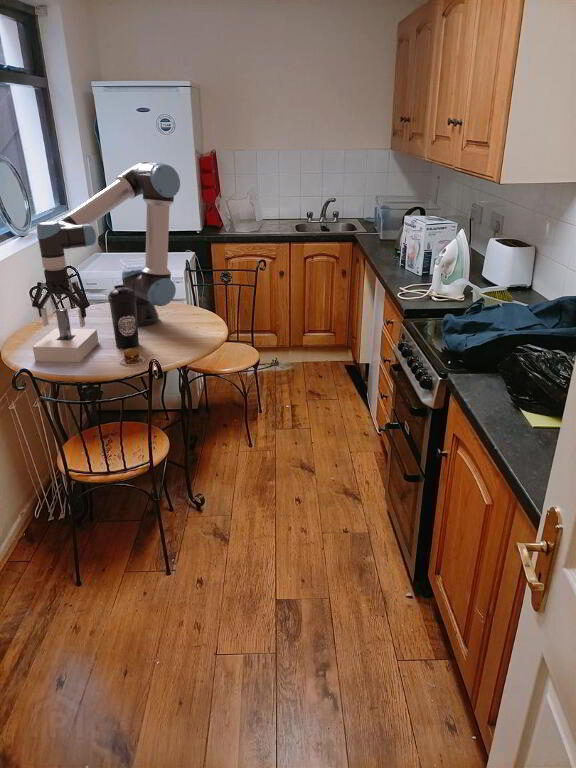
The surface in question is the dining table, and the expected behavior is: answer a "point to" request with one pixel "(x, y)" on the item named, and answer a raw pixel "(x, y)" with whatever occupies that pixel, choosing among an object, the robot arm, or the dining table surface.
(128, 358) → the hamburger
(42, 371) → the dining table surface
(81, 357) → the socket block
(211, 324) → the dining table surface
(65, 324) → the steel pin
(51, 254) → the robot arm
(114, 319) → the water bottle
